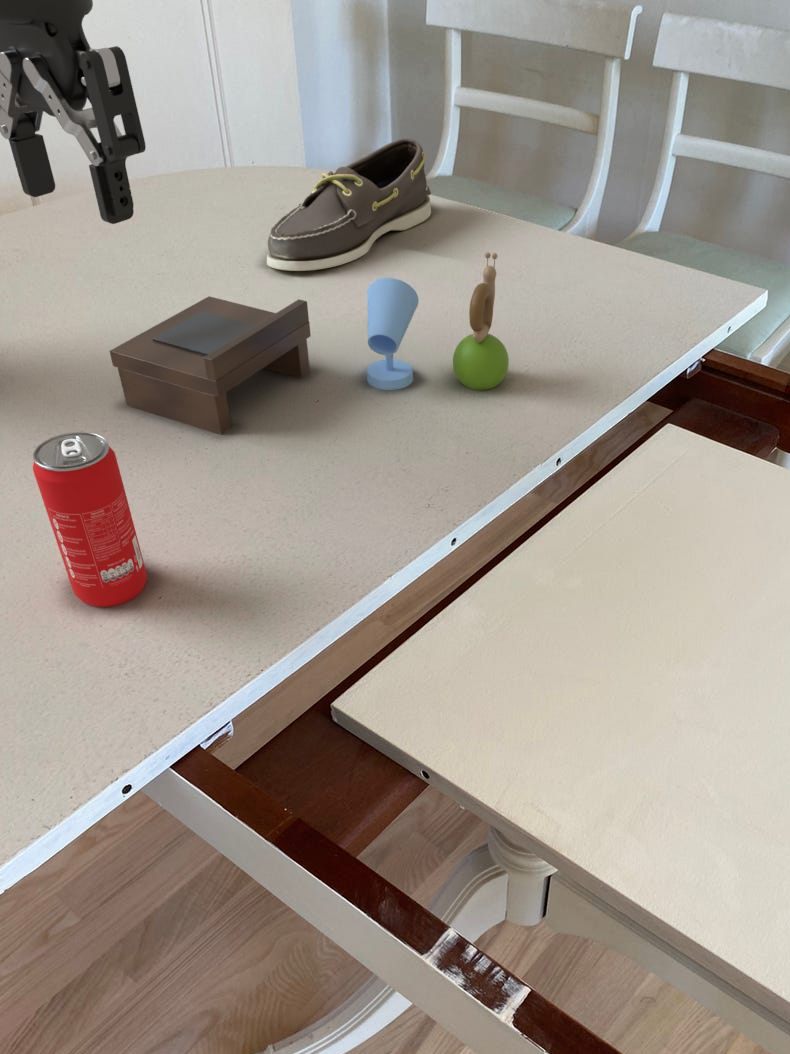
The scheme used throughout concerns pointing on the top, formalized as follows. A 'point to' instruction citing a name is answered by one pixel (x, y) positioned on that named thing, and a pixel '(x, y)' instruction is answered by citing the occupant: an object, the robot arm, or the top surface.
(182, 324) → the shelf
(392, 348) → the spotlight
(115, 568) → the beverage can
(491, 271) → the snail figurine
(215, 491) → the top surface
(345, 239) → the boat shoe
